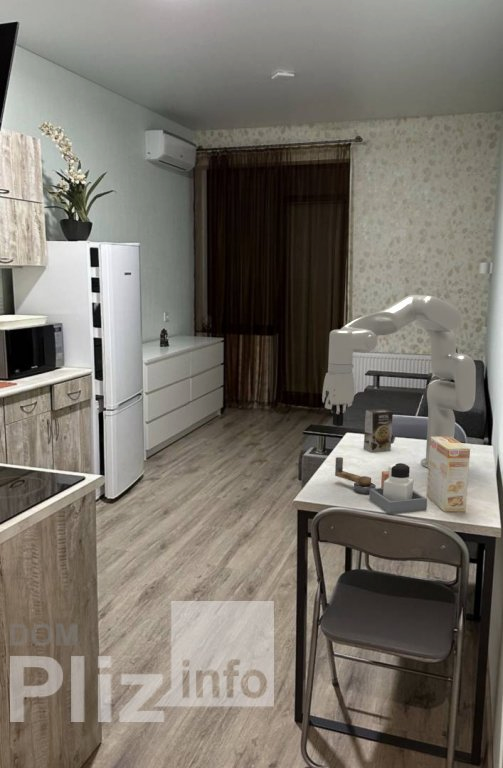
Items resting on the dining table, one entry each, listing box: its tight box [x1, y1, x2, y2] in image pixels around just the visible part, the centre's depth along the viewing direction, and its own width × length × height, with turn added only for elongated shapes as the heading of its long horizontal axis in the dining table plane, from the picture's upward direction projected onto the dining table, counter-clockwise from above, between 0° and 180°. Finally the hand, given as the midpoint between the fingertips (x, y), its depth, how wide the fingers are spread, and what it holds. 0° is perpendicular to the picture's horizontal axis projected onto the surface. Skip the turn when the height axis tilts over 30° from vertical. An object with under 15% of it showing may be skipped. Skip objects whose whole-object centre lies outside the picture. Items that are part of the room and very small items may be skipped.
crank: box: [334, 456, 372, 486], centre depth 212 cm, size 14×4×6 cm, turn 42°
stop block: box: [380, 470, 389, 488], centre depth 207 cm, size 3×3×7 cm
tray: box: [368, 487, 428, 515], centre depth 197 cm, size 13×13×4 cm
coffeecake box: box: [426, 437, 471, 513], centre depth 198 cm, size 15×7×20 cm, turn 5°
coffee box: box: [363, 408, 394, 453], centre depth 258 cm, size 9×6×16 cm
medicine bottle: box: [383, 462, 414, 501], centre depth 197 cm, size 7×7×12 cm
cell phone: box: [391, 434, 396, 445], centre depth 277 cm, size 7×14×1 cm, turn 163°
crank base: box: [353, 482, 377, 496], centre depth 209 cm, size 7×7×2 cm
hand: (337, 425), depth 208 cm, fingers closed
